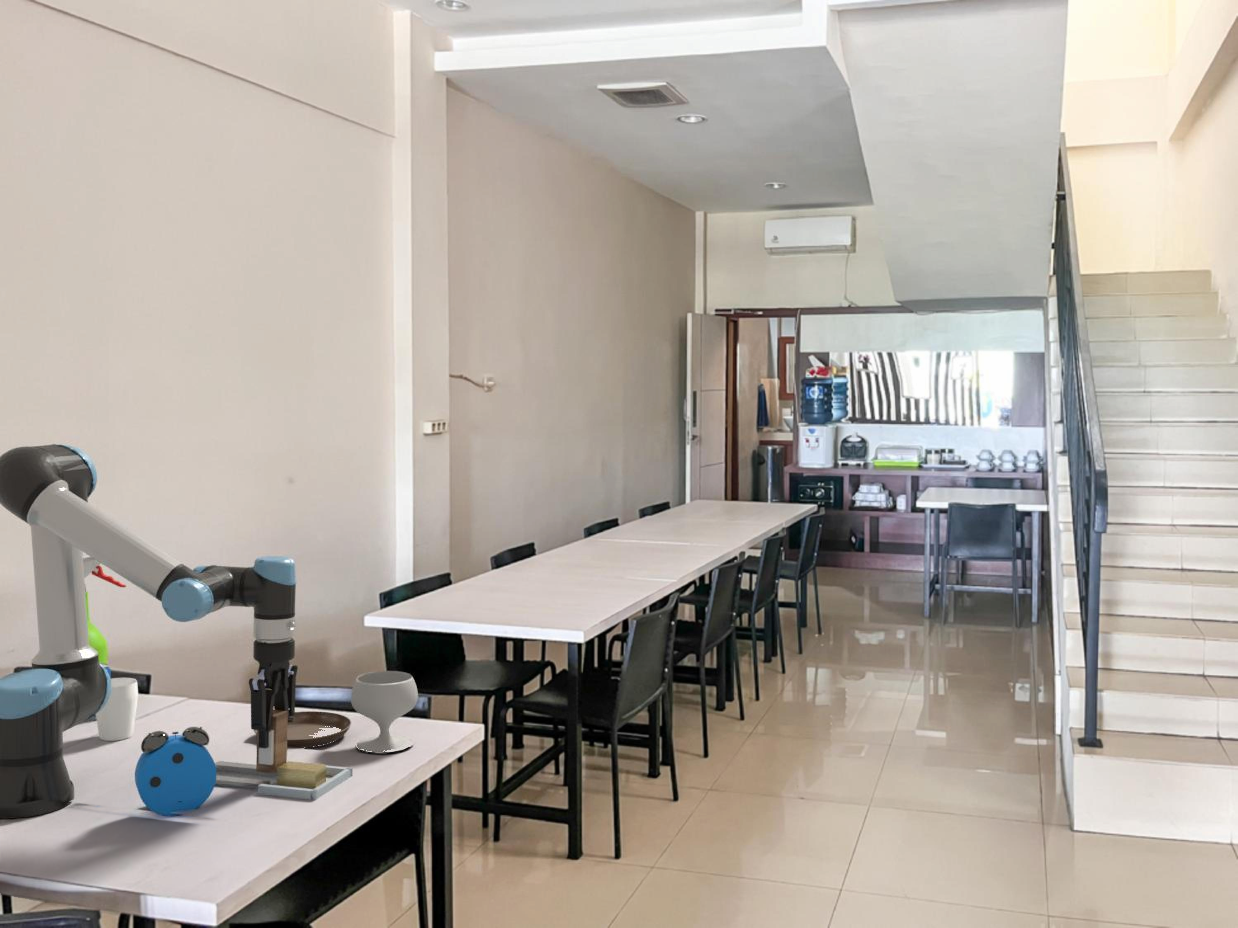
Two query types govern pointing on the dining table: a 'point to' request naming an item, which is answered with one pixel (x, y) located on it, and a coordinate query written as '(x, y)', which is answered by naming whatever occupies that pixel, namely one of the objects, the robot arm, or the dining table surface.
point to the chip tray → (313, 794)
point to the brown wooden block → (276, 742)
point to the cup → (118, 710)
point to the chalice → (384, 705)
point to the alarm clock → (175, 771)
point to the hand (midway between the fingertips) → (272, 759)
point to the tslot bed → (241, 775)
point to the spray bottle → (93, 633)
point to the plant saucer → (314, 728)
